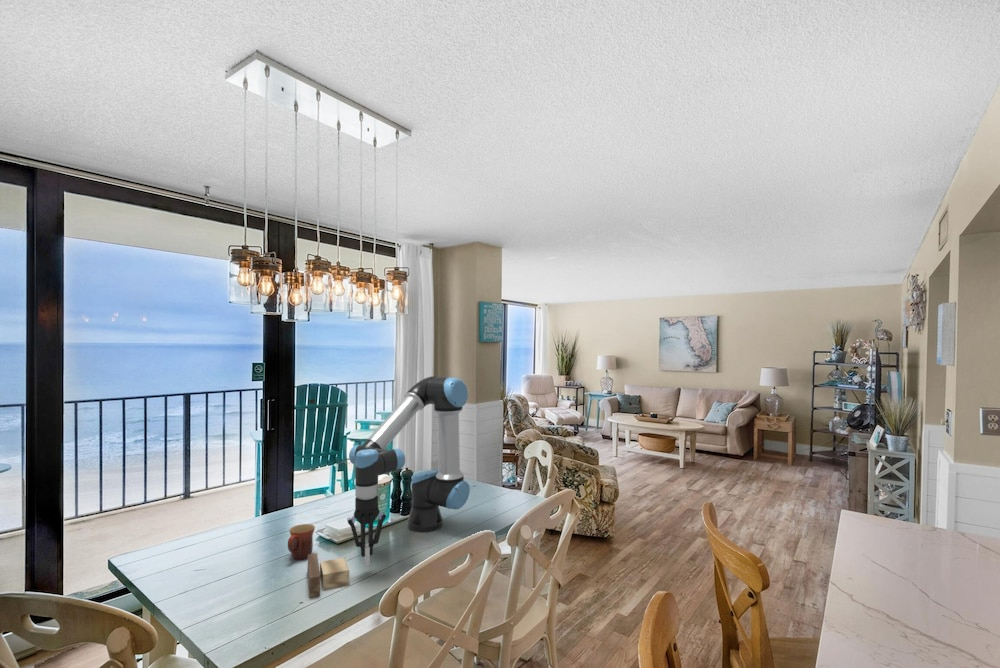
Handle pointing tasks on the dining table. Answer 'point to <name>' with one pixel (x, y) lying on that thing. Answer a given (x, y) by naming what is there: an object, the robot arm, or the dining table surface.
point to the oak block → (334, 573)
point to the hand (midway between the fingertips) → (366, 565)
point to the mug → (301, 541)
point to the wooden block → (313, 575)
